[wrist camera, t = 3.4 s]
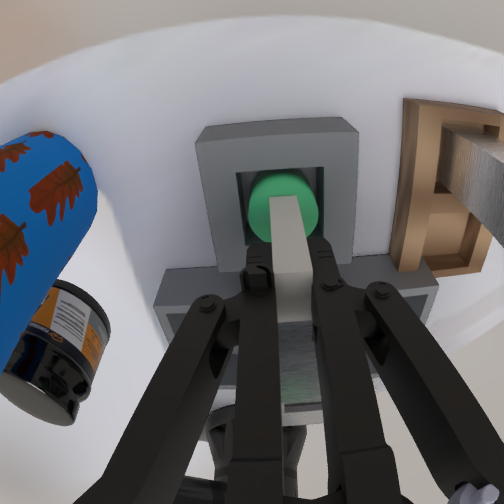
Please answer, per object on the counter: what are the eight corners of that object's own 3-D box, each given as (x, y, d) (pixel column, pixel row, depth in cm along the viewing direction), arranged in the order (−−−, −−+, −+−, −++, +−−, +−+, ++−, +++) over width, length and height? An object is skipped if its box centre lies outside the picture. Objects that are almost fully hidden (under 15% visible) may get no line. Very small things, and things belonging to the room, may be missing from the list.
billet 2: (470, 174, 20) (549, 247, 12) (430, 173, 21) (507, 252, 12) (477, 126, 18) (569, 185, 10) (435, 122, 18) (528, 181, 10)
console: (339, 232, 25) (351, 263, 21) (224, 240, 25) (219, 272, 22) (341, 117, 19) (358, 132, 16) (205, 126, 20) (194, 143, 17)
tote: (394, 340, 32) (404, 372, 29) (195, 354, 34) (190, 388, 30) (419, 251, 25) (439, 285, 22) (165, 269, 27) (153, 306, 23)
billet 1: (318, 329, 30) (331, 423, 22) (276, 332, 30) (280, 428, 22) (319, 299, 28) (337, 400, 20) (274, 303, 28) (278, 406, 20)
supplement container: (96, 274, 28) (43, 379, 18) (125, 346, 34) (97, 438, 24) (19, 271, 28) (-36, 354, 18) (54, 337, 34) (19, 414, 24)
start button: (311, 218, 22) (318, 243, 19) (252, 222, 22) (251, 248, 20) (310, 163, 19) (318, 181, 17) (246, 167, 20) (244, 186, 17)
